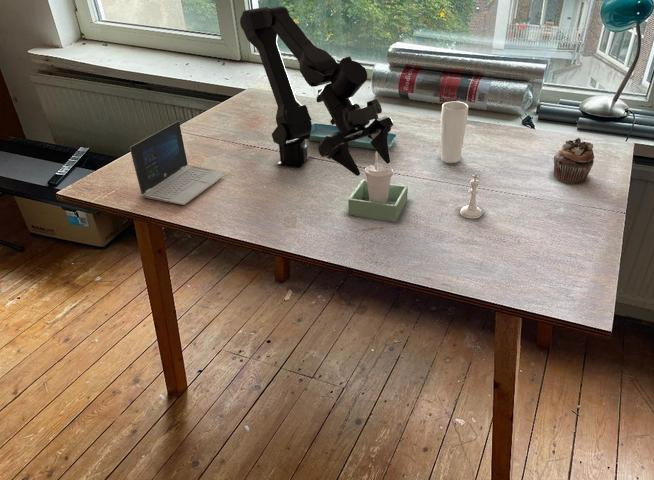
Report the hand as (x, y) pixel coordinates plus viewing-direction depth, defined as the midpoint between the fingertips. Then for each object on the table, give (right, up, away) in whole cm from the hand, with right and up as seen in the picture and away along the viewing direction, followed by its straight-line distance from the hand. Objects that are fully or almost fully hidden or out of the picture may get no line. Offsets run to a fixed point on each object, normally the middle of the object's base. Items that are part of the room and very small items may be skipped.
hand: (374, 169), depth 128 cm
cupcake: (+50, +1, +17) cm, 53 cm away
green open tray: (+1, -8, +4) cm, 9 cm away
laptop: (-47, -2, +14) cm, 49 cm away
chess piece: (+22, -10, +2) cm, 25 cm away
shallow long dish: (-6, +14, +36) cm, 40 cm away
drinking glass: (+21, +7, +26) cm, 34 cm away
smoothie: (+1, -8, +5) cm, 10 cm away
